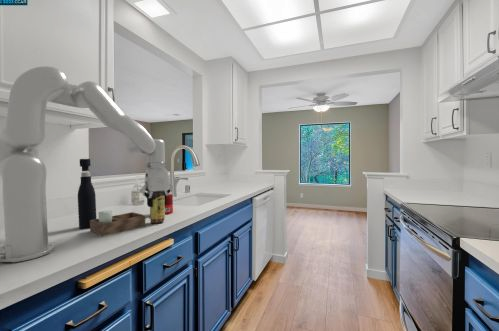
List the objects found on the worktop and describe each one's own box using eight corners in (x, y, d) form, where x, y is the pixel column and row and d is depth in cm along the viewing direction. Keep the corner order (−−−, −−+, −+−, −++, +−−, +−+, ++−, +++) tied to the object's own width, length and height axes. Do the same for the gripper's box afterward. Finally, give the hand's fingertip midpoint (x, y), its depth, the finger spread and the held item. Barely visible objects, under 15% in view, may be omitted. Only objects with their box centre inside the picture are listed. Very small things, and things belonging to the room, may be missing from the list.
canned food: (175, 211, 128) (174, 191, 128) (168, 215, 120) (167, 194, 120) (163, 211, 129) (162, 192, 129) (154, 215, 121) (153, 194, 121)
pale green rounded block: (101, 231, 91) (101, 213, 91) (97, 229, 94) (96, 212, 94) (114, 228, 95) (113, 211, 95) (109, 226, 98) (109, 210, 98)
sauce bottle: (159, 223, 102) (158, 179, 102) (147, 223, 104) (145, 179, 103) (167, 220, 109) (166, 178, 108) (155, 219, 110) (154, 178, 110)
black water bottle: (98, 226, 102) (95, 158, 101) (80, 230, 97) (77, 158, 96) (94, 224, 106) (91, 159, 106) (77, 227, 102) (74, 159, 101)
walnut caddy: (101, 236, 88) (100, 224, 88) (90, 231, 95) (89, 220, 95) (145, 225, 102) (145, 215, 102) (133, 221, 109) (132, 212, 109)
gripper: (142, 166, 97) (143, 209, 97) (177, 165, 110) (178, 203, 111) (133, 166, 101) (134, 207, 102) (168, 165, 115) (169, 201, 115)
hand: (157, 205), depth 106 cm, fingers closed on sauce bottle, 6 cm apart
